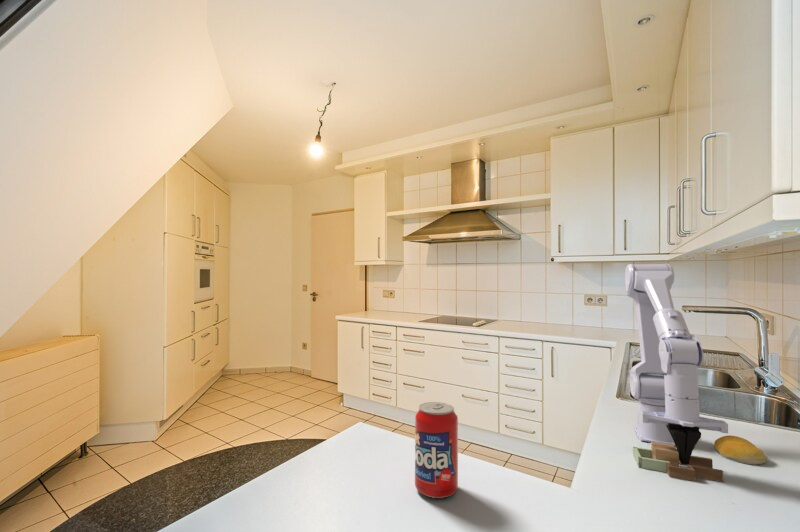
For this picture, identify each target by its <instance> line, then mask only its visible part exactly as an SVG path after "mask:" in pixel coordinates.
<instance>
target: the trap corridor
mask: <svg viewBox="0 0 800 532" xmlns="http://www.w3.org/2000/svg"><path fill="white" fill-rule="evenodd" d="M632 449H633V450H632V451H633V458H634V460H635V462H636V466H637V467H638V469H639V468H640V469H644V470H652V471H658V472H663V473H667V475H668V477H670V478H674V479H681V480H687V481H692V482H696V481H697V480H696V478H697V479H704V480H709V481H714V482H715V481H716V482H722V483H723V482H724V473H723V472H724V471H723V470H722V469H717V468H713V466H714V465H713V459H712V458H711V457H703V456H697V455H693V454H691V457H690V461H689V465H688V464H687V465H686V464H682V463H681V462H680V461H679V465H682V466H687V467H681V466H679V467H677V466H672V465H671V463H670V462H669V461H663V460H657V459H652V450H651V448H644V447H638V446H633V448H632Z"/></svg>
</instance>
